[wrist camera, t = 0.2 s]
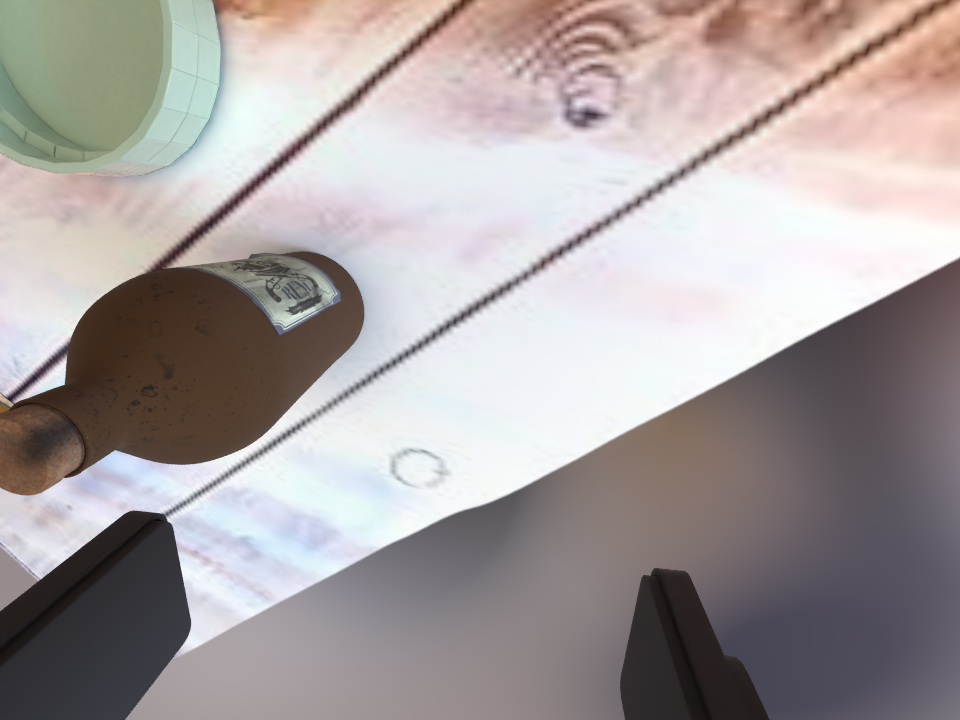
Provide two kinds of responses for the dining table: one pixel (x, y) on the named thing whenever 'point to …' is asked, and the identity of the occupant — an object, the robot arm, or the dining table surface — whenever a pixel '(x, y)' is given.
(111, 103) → the bowl
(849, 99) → the dining table surface
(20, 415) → the olive oil
